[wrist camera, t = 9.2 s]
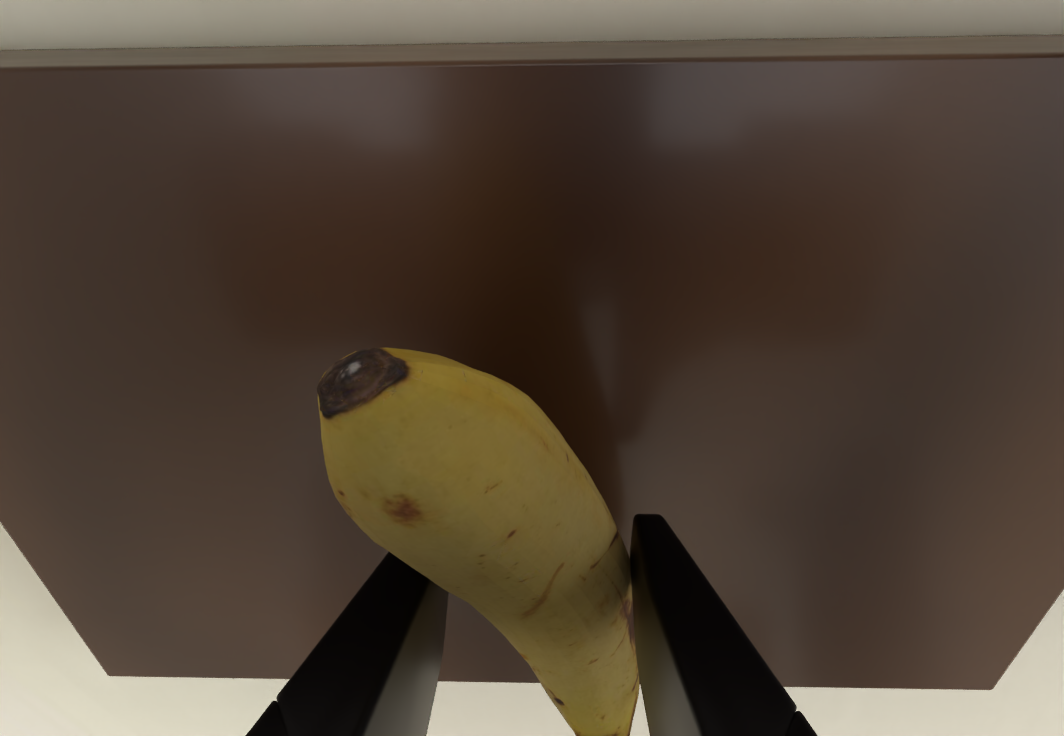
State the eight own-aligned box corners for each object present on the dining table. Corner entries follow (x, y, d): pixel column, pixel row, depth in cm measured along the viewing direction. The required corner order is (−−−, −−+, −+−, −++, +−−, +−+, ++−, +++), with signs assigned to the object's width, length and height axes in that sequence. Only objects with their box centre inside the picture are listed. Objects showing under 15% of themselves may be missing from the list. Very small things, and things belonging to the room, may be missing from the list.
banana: (337, 227, 8) (202, 435, 5) (516, 174, 8) (488, 365, 5) (557, 658, 14) (557, 890, 11) (670, 641, 13) (707, 878, 10)
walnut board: (1344, 30, 8) (1452, 47, 7) (965, 641, 16) (993, 691, 15) (-223, 52, 9) (-320, 72, 8) (134, 630, 16) (107, 677, 15)
